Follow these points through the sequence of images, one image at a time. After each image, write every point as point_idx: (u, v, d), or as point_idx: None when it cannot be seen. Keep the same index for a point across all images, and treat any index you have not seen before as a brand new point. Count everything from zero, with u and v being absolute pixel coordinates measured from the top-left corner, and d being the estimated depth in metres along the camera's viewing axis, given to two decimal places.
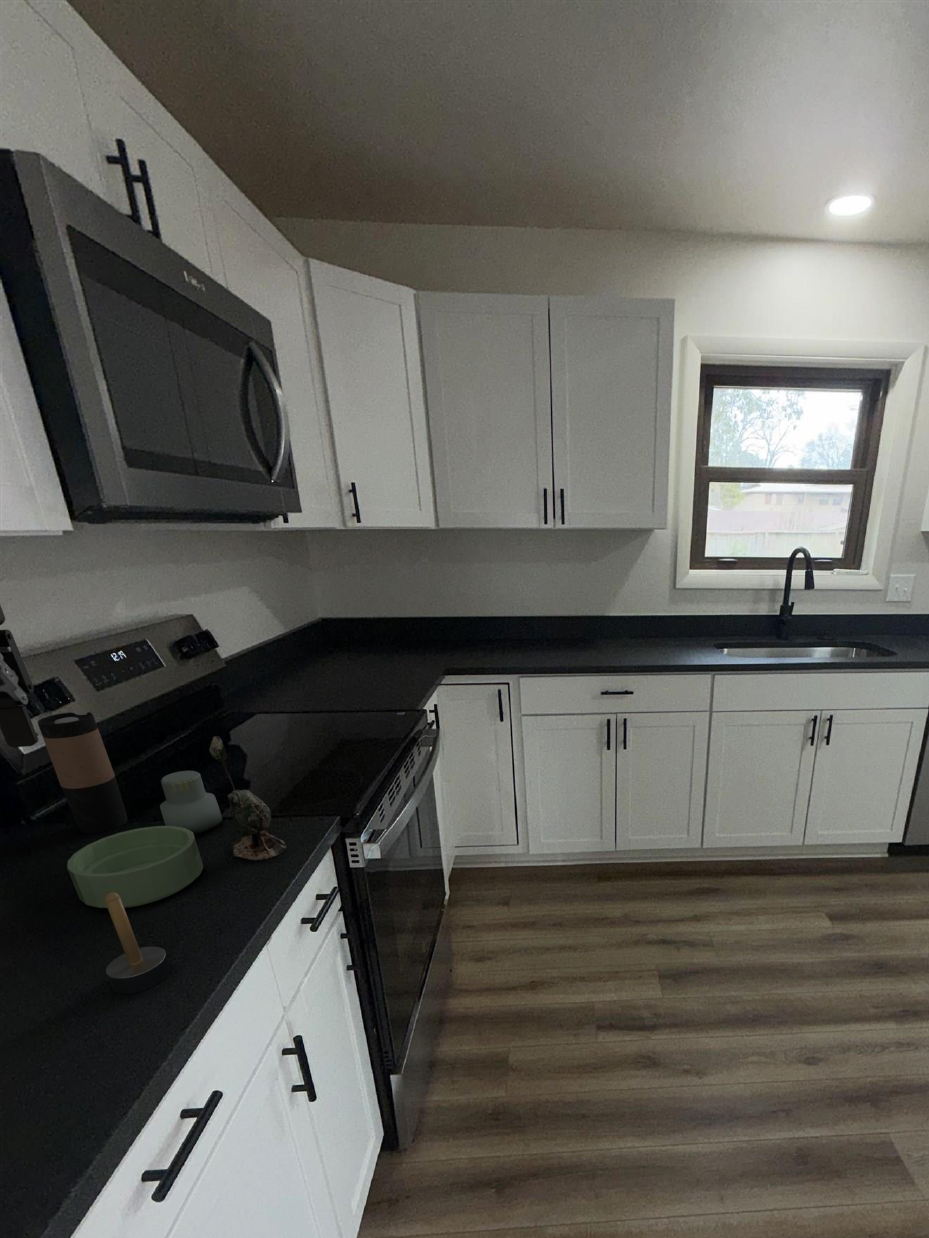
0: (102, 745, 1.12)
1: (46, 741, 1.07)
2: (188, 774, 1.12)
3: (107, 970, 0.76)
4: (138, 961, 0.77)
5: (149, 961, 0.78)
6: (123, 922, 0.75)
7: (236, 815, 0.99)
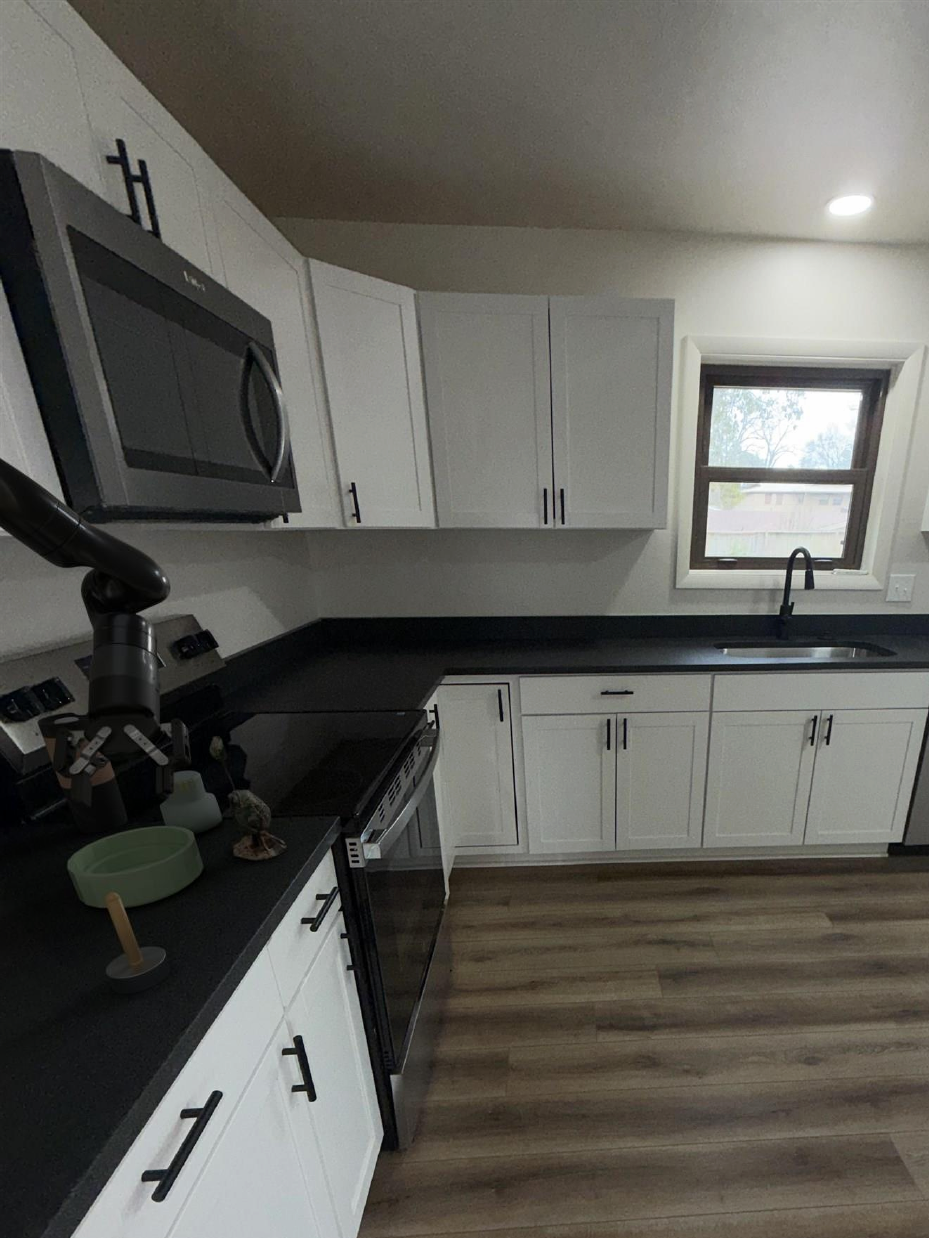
0: None
1: (46, 741, 1.07)
2: (188, 774, 1.12)
3: (107, 970, 0.76)
4: (138, 961, 0.77)
5: (149, 961, 0.78)
6: (123, 922, 0.75)
7: (236, 815, 0.99)
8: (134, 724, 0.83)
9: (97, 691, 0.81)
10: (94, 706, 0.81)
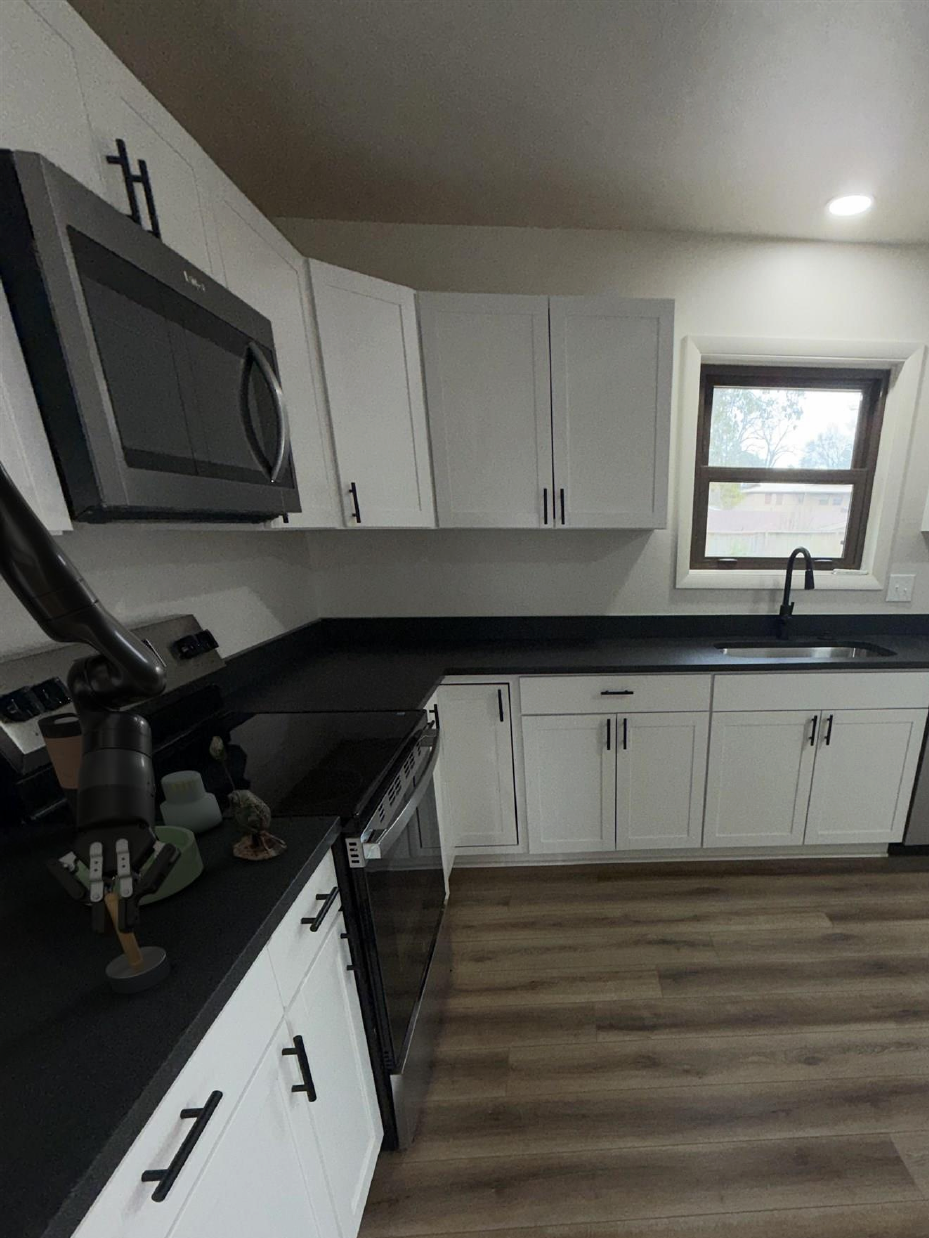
0: None
1: (46, 741, 1.07)
2: (188, 774, 1.12)
3: (107, 970, 0.76)
4: (138, 961, 0.77)
5: (149, 961, 0.78)
6: None
7: (236, 815, 0.99)
8: (127, 837, 0.76)
9: (86, 803, 0.75)
10: (83, 821, 0.74)
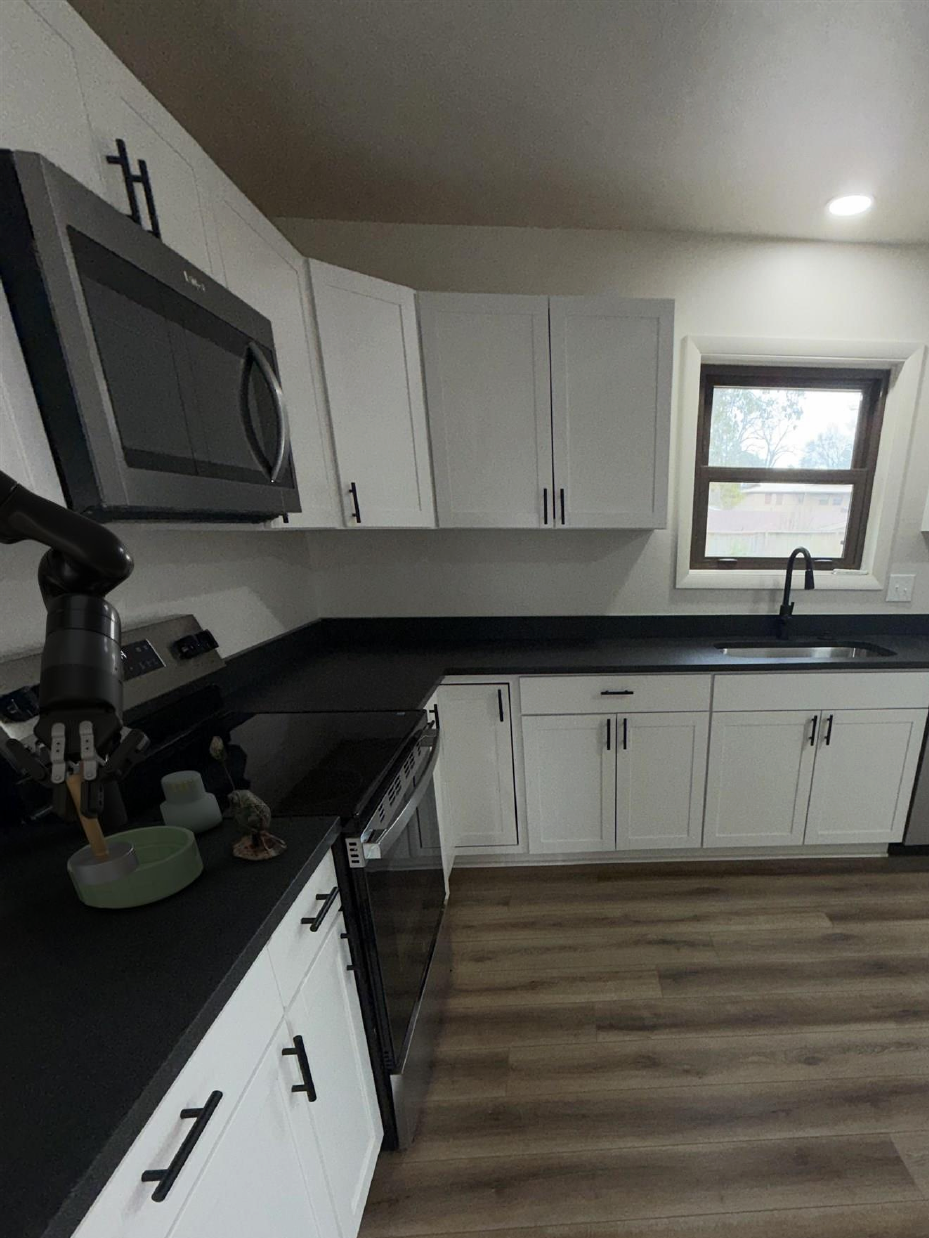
0: None
1: None
2: (188, 774, 1.12)
3: (70, 860, 0.72)
4: (103, 852, 0.73)
5: (115, 852, 0.74)
6: None
7: (236, 815, 0.99)
8: (92, 720, 0.73)
9: (49, 682, 0.71)
10: (45, 699, 0.70)
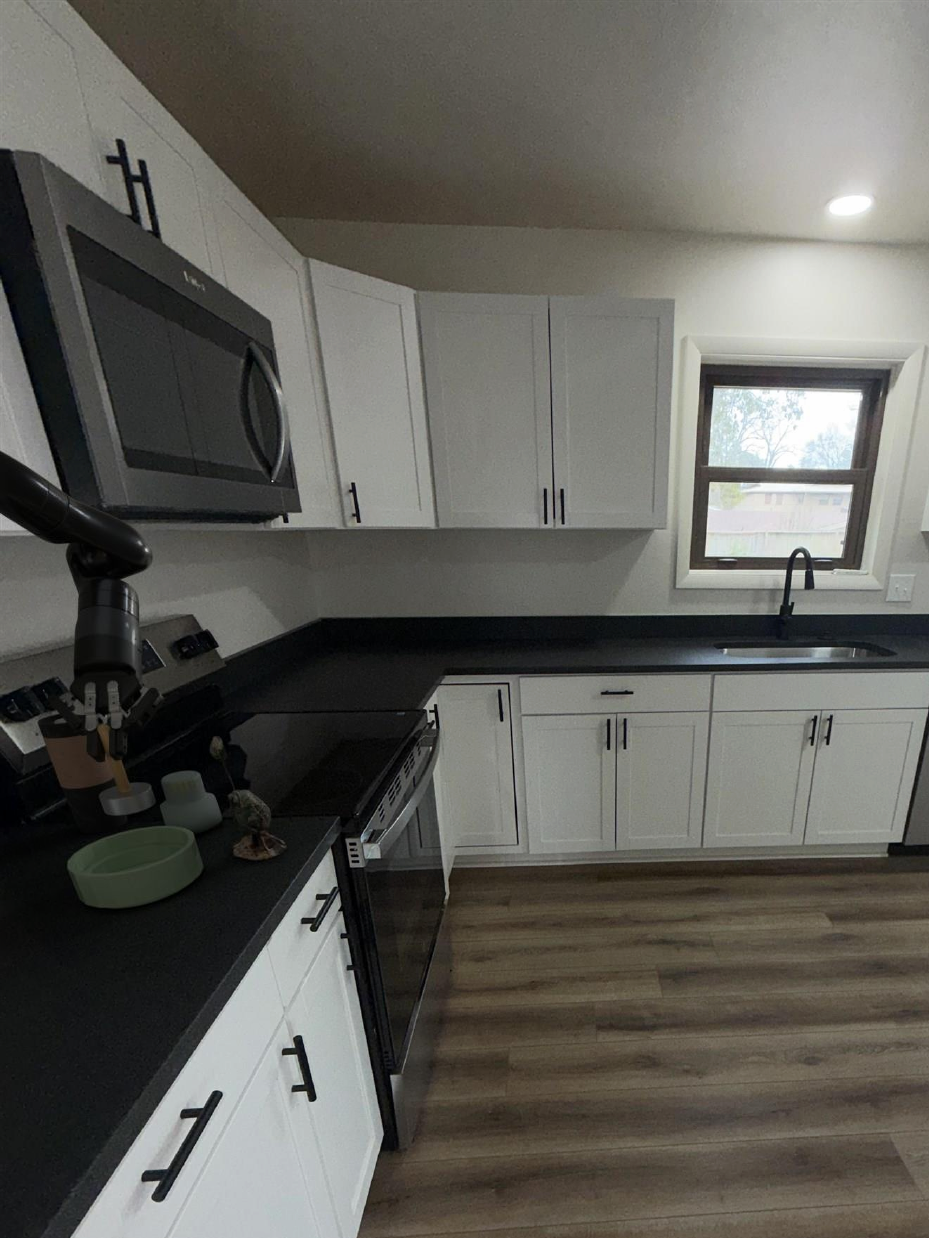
0: None
1: (46, 741, 1.07)
2: (188, 774, 1.12)
3: (100, 795, 0.88)
4: (127, 789, 0.89)
5: (136, 790, 0.90)
6: None
7: (236, 815, 0.99)
8: (117, 681, 0.89)
9: (82, 649, 0.87)
10: (79, 663, 0.86)
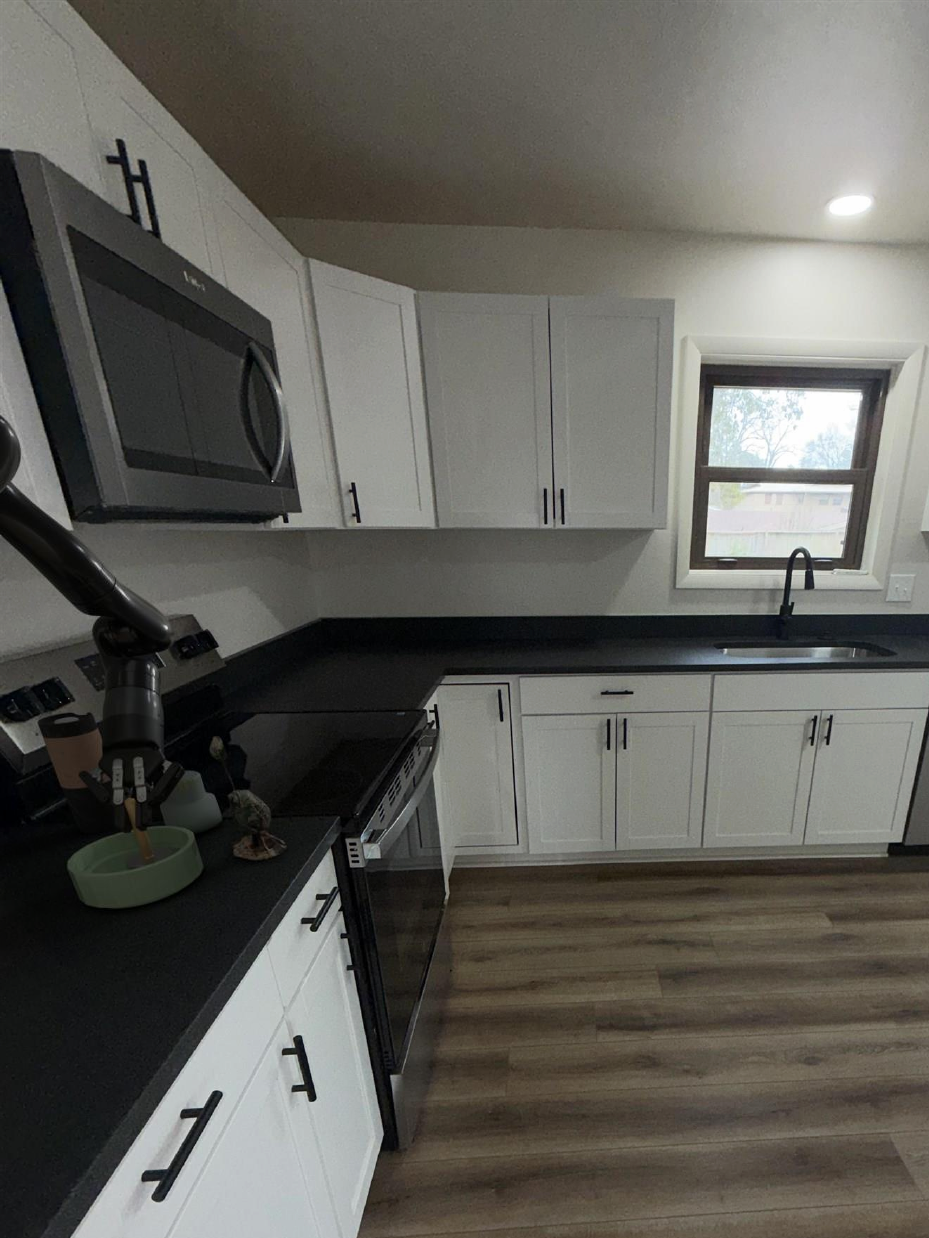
0: None
1: (46, 741, 1.07)
2: (188, 774, 1.12)
3: (126, 862, 0.95)
4: (150, 856, 0.97)
5: (159, 856, 0.97)
6: None
7: (236, 815, 0.99)
8: (142, 756, 0.96)
9: (110, 728, 0.94)
10: (107, 741, 0.93)
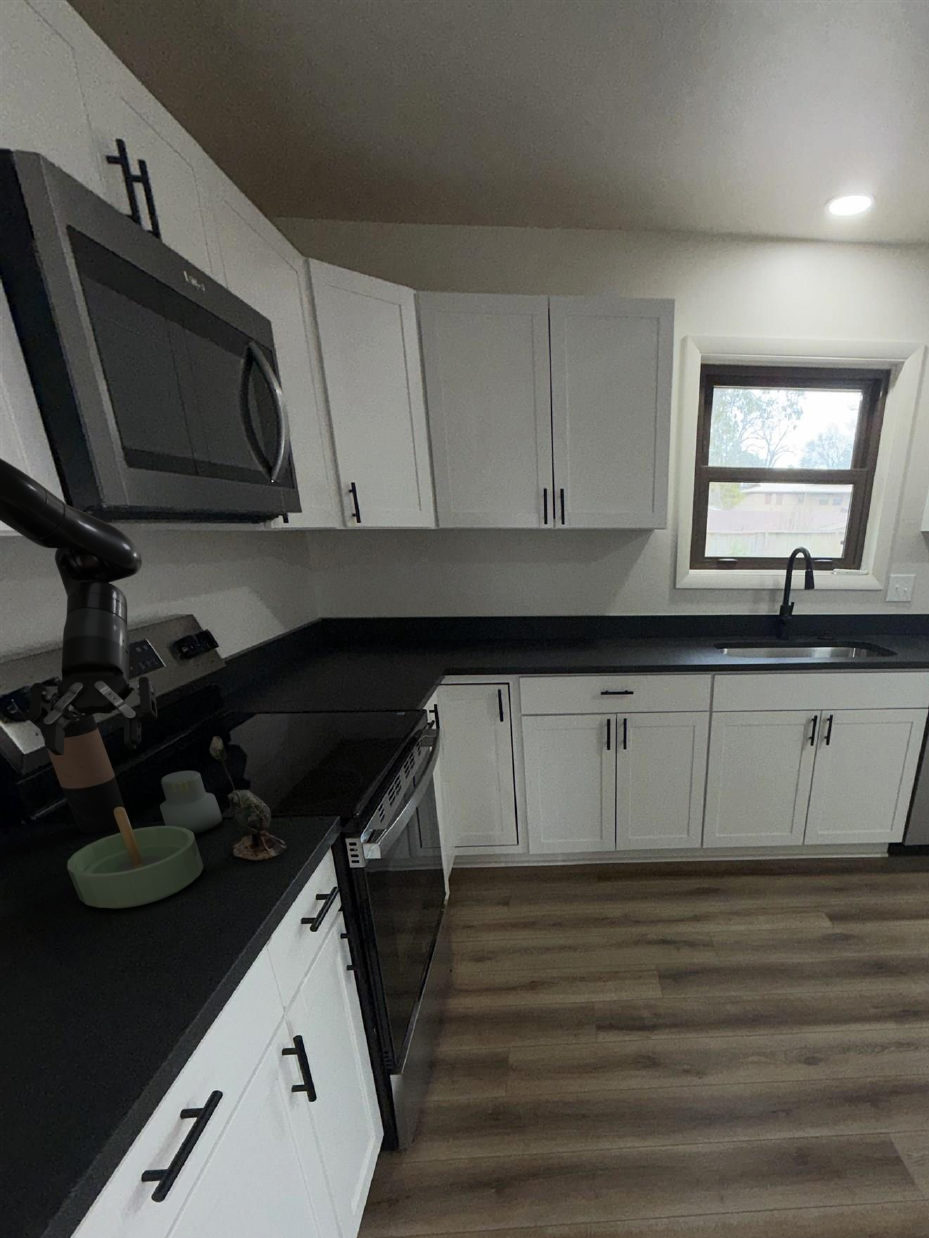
0: (102, 745, 1.12)
1: None
2: (188, 774, 1.12)
3: (115, 871, 0.95)
4: (140, 864, 0.97)
5: None
6: (128, 831, 0.94)
7: (236, 815, 0.99)
8: (104, 681, 0.91)
9: (70, 650, 0.89)
10: (67, 663, 0.88)
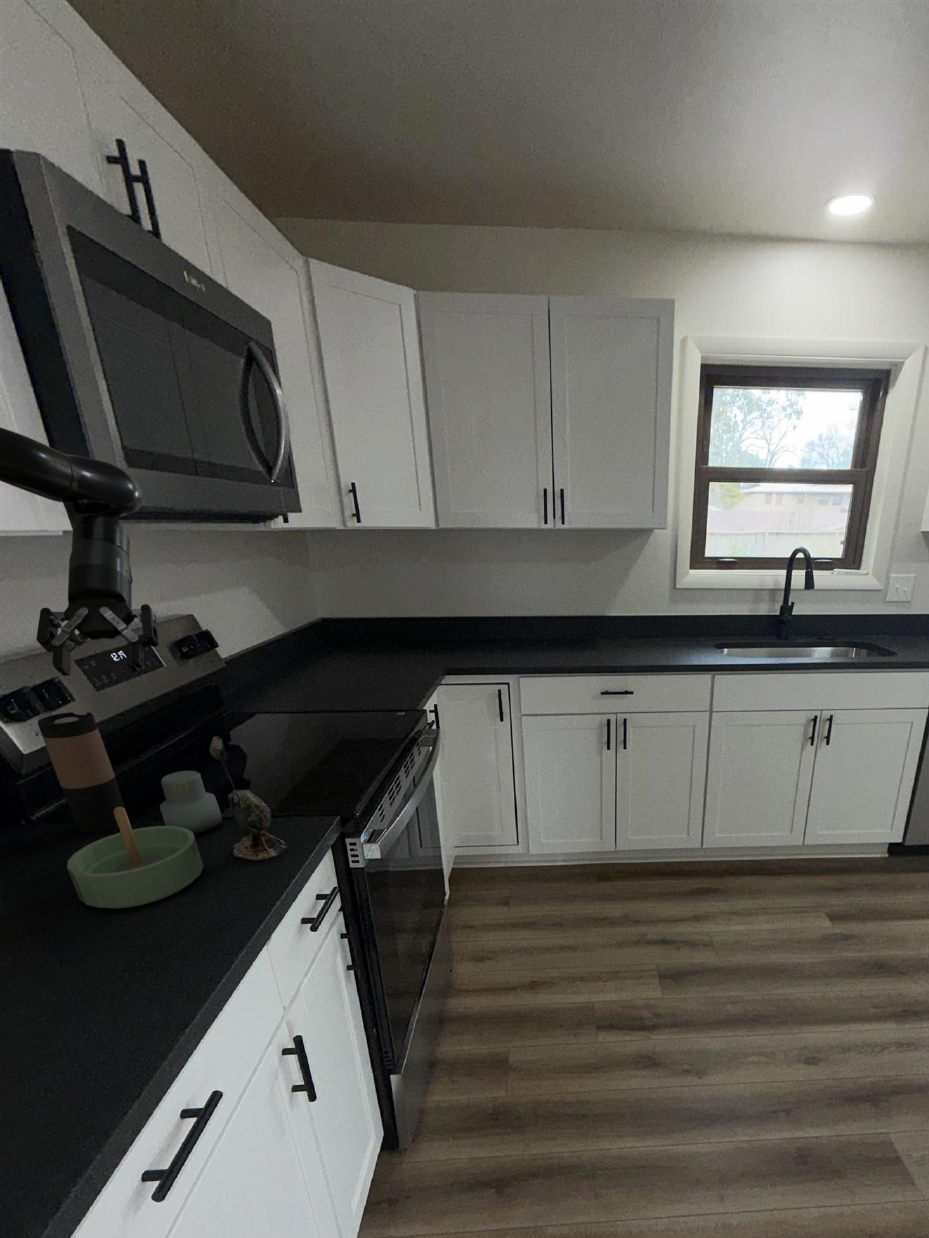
0: (102, 745, 1.12)
1: (46, 741, 1.07)
2: (188, 774, 1.12)
3: (115, 871, 0.95)
4: (140, 864, 0.97)
5: None
6: (128, 831, 0.94)
7: (236, 815, 0.99)
8: (108, 607, 0.95)
9: (76, 577, 0.94)
10: (73, 589, 0.93)
